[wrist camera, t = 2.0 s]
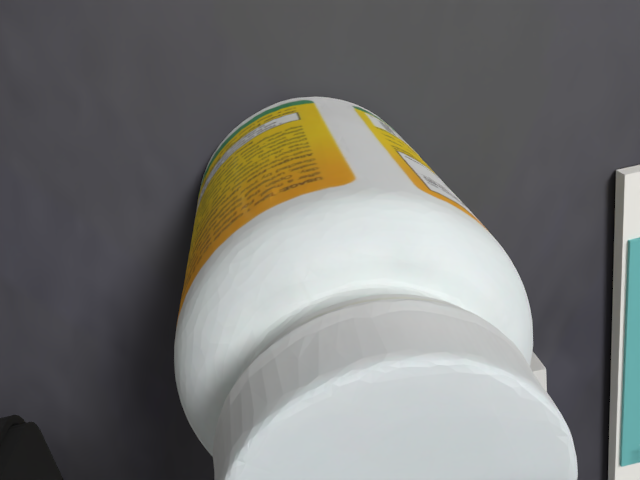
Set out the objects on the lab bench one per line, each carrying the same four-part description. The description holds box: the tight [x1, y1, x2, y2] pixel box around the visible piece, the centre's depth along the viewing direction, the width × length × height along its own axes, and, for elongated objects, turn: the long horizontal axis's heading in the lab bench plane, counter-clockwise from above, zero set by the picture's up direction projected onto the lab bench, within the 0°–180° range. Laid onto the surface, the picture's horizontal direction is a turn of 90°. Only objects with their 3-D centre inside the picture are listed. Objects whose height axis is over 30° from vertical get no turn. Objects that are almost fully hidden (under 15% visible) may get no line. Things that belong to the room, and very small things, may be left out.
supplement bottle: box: [174, 97, 578, 480], centre depth 11 cm, size 5×5×10 cm
